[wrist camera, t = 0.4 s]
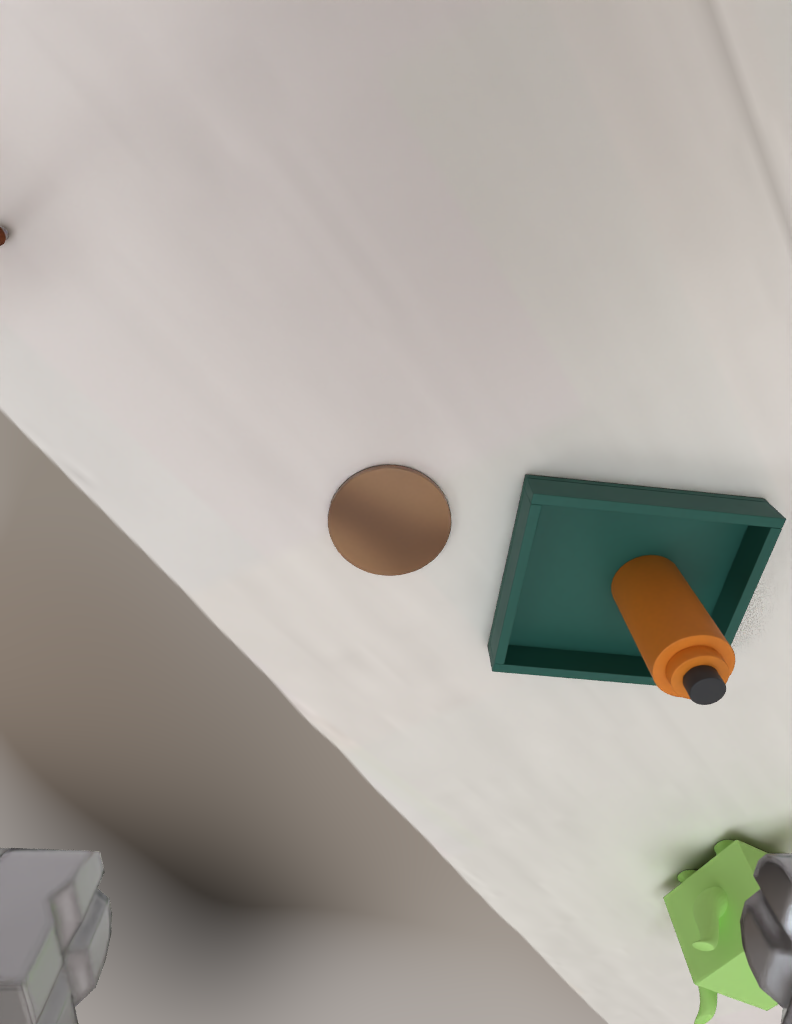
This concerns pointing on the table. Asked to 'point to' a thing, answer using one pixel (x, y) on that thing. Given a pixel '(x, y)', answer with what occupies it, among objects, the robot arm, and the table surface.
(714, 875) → the kettle
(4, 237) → the magnifying glass
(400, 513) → the coaster
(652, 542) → the tray
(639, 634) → the glue bottle
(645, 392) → the table surface
